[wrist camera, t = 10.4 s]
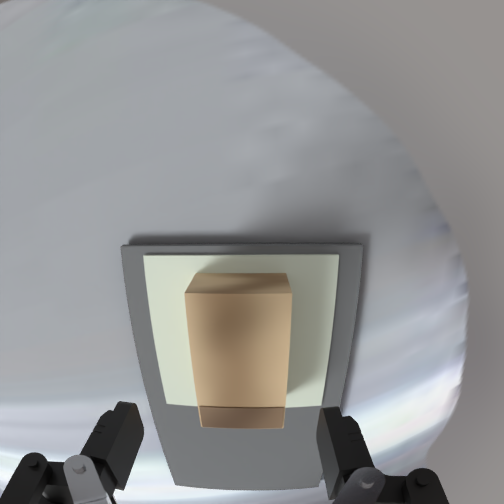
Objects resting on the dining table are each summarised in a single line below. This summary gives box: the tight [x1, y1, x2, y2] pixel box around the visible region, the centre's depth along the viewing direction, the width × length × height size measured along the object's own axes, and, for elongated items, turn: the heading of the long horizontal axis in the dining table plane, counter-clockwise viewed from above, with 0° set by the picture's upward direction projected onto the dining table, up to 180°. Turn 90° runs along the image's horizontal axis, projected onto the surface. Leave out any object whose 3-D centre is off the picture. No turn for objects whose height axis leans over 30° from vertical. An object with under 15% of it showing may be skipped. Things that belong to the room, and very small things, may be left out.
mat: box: [121, 244, 363, 490], centre depth 20 cm, size 24×14×1 cm, turn 0°
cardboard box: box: [184, 273, 292, 429], centre depth 17 cm, size 5×9×3 cm, turn 0°
